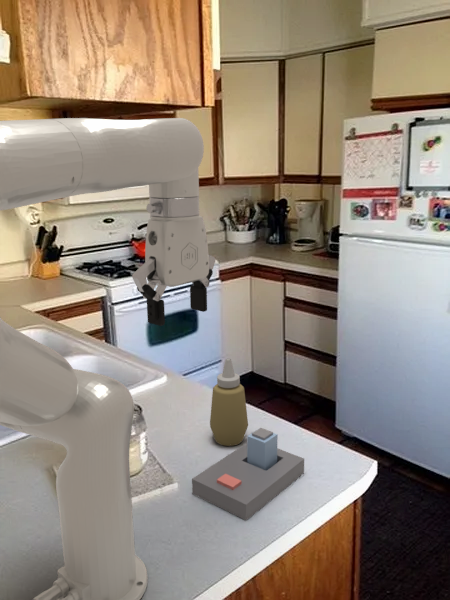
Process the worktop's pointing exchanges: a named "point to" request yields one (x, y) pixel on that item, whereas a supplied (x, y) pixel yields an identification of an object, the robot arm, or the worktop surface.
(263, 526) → the worktop surface
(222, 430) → the squeeze bottle
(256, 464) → the plug
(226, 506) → the power strip
